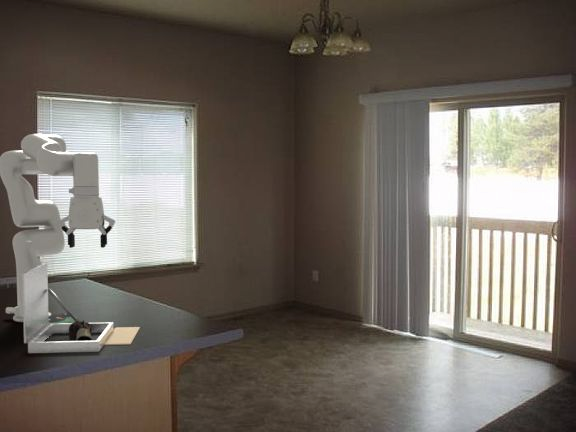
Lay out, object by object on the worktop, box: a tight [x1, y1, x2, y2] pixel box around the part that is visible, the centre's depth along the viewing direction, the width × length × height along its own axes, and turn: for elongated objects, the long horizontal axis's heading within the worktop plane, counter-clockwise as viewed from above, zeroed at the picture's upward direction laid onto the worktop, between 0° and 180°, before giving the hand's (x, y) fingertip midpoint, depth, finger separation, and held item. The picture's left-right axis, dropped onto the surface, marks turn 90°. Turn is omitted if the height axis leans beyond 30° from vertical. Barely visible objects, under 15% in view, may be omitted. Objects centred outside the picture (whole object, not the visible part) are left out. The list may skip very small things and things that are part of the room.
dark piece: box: [68, 319, 94, 341], centre depth 193 cm, size 18×7×6 cm, turn 19°
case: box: [22, 262, 115, 354], centre depth 192 cm, size 21×23×23 cm
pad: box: [103, 326, 141, 346], centre depth 199 cm, size 8×20×1 cm, turn 5°
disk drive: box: [49, 312, 79, 324], centre depth 214 cm, size 10×3×15 cm
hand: (87, 247), depth 195 cm, fingers open, 9 cm apart
